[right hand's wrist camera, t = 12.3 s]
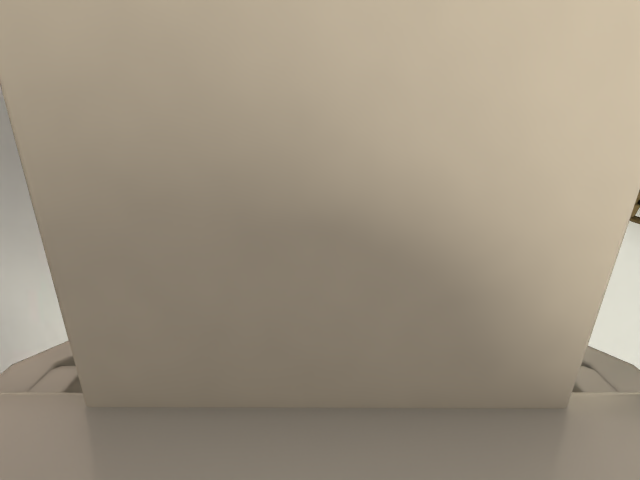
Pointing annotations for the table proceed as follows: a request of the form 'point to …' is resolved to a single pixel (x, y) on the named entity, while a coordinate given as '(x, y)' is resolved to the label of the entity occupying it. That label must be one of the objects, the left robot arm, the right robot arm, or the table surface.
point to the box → (327, 193)
